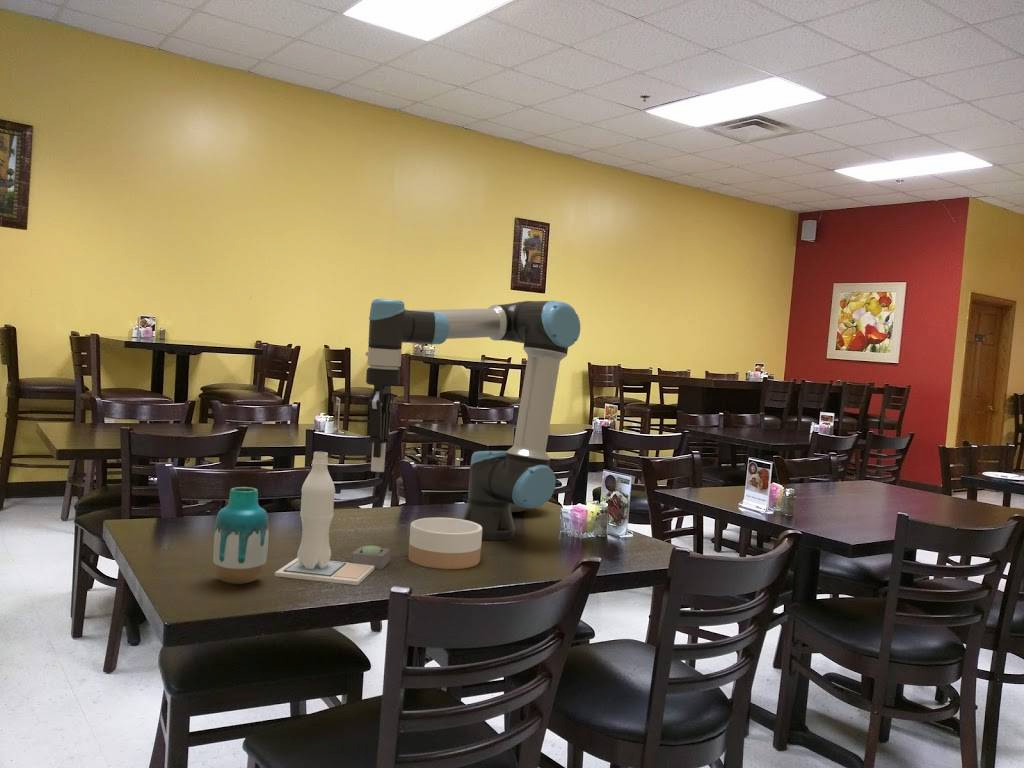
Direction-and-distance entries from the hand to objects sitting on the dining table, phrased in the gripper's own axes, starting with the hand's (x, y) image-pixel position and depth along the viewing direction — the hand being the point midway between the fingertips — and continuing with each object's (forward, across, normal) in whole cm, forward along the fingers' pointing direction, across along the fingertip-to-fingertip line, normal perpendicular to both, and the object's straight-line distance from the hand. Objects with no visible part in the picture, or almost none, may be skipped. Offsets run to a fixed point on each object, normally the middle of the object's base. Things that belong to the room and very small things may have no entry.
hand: (377, 471), depth 190 cm
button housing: (+22, 0, 0) cm, 22 cm away
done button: (+21, 0, 0) cm, 21 cm away
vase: (+21, +23, -21) cm, 38 cm away
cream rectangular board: (+21, +10, -7) cm, 25 cm away
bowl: (+22, -11, +15) cm, 29 cm away
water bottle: (+21, +10, -10) cm, 25 cm away
